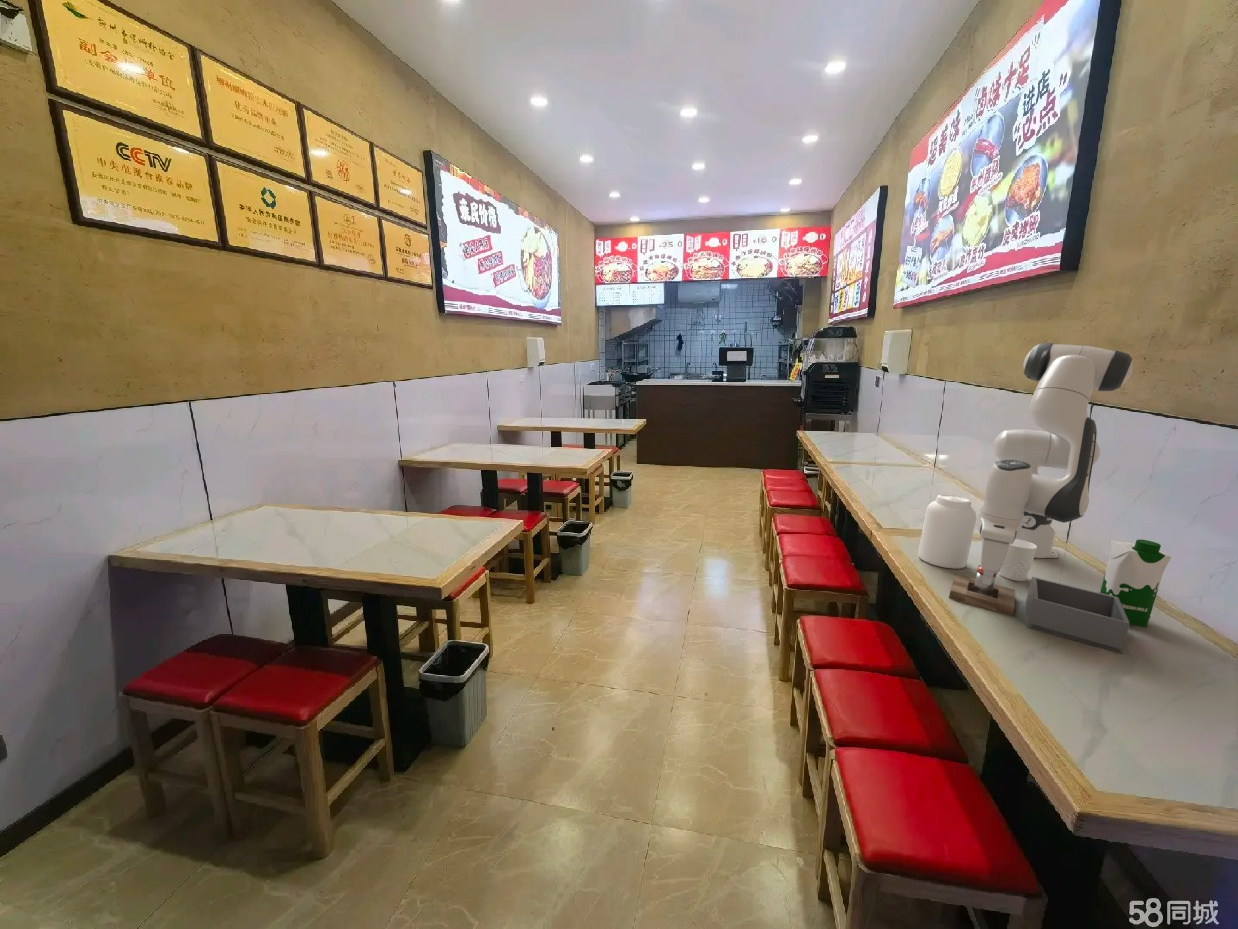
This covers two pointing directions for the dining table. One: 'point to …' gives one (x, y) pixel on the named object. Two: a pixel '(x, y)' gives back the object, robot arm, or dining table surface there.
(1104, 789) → the dining table surface
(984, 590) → the red and grey cylinder
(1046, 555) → the robot arm
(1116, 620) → the bin
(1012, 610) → the socket block
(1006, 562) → the white cup
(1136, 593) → the milk carton
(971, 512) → the can
